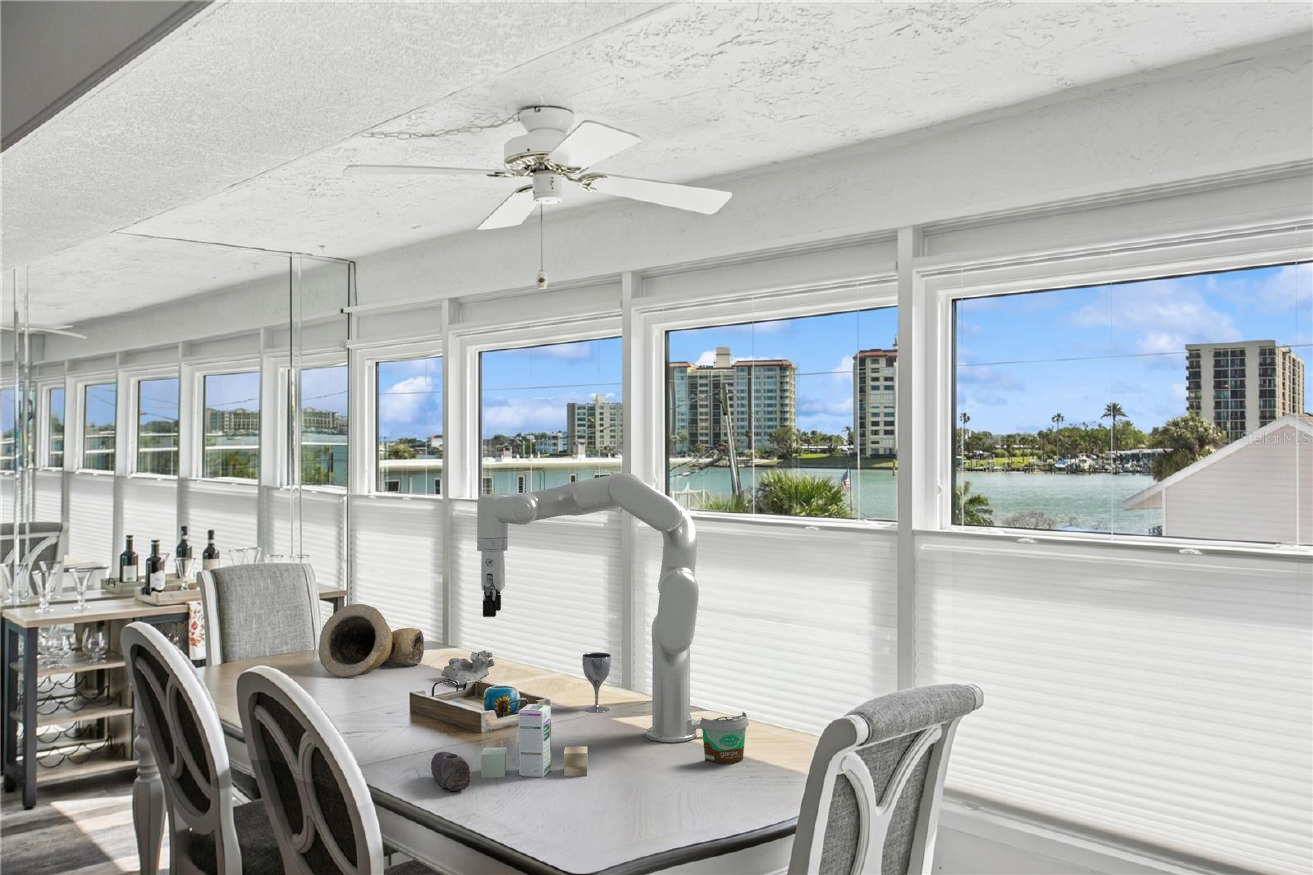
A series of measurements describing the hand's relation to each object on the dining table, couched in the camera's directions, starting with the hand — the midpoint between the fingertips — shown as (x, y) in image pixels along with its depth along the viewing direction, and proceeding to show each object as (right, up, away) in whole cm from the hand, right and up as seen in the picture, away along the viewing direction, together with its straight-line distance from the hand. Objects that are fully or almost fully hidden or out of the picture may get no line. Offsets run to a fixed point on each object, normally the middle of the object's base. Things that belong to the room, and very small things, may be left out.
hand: (492, 613), depth 240 cm
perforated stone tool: (-4, -31, -34) cm, 46 cm away
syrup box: (+14, -31, -26) cm, 43 cm away
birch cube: (+23, -31, -26) cm, 46 cm away
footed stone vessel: (-53, -34, +81) cm, 103 cm away
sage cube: (+5, -31, -27) cm, 41 cm away
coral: (-18, -33, +62) cm, 72 cm away
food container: (+58, -31, -18) cm, 68 cm away
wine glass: (+24, -32, +28) cm, 49 cm away
